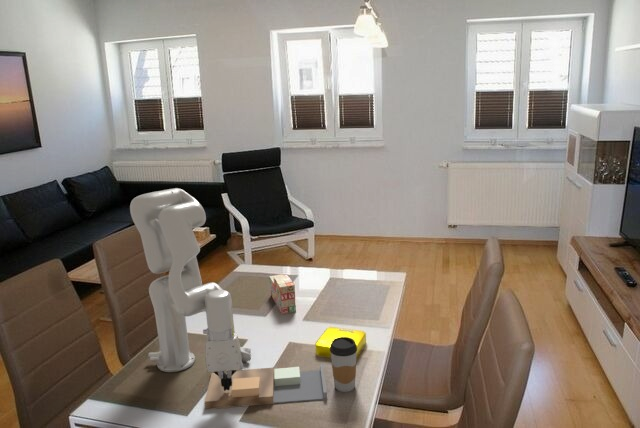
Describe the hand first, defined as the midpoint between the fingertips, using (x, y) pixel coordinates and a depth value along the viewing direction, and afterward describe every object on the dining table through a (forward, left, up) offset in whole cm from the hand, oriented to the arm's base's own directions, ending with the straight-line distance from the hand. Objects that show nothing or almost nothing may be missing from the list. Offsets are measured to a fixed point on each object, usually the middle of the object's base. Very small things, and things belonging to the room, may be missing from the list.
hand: (227, 387), depth 156 cm
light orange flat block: (+6, 0, -2) cm, 6 cm away
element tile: (+37, +26, -5) cm, 46 cm away
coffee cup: (+36, +2, -4) cm, 36 cm away
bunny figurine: (0, +20, -4) cm, 21 cm away
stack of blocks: (+16, +68, -4) cm, 70 cm away
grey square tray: (+22, +4, -4) cm, 22 cm away
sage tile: (+18, +8, -4) cm, 20 cm away
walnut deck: (+4, +4, -4) cm, 7 cm away
